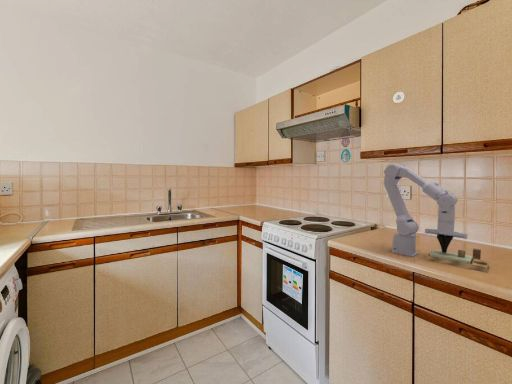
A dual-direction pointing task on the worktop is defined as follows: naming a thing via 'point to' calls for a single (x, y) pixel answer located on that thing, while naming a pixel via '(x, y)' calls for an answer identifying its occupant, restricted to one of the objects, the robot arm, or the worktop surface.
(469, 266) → the shallow wooden tray
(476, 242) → the worktop surface
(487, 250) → the worktop surface
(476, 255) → the dark brown rectangular block
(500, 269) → the worktop surface
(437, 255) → the lid
